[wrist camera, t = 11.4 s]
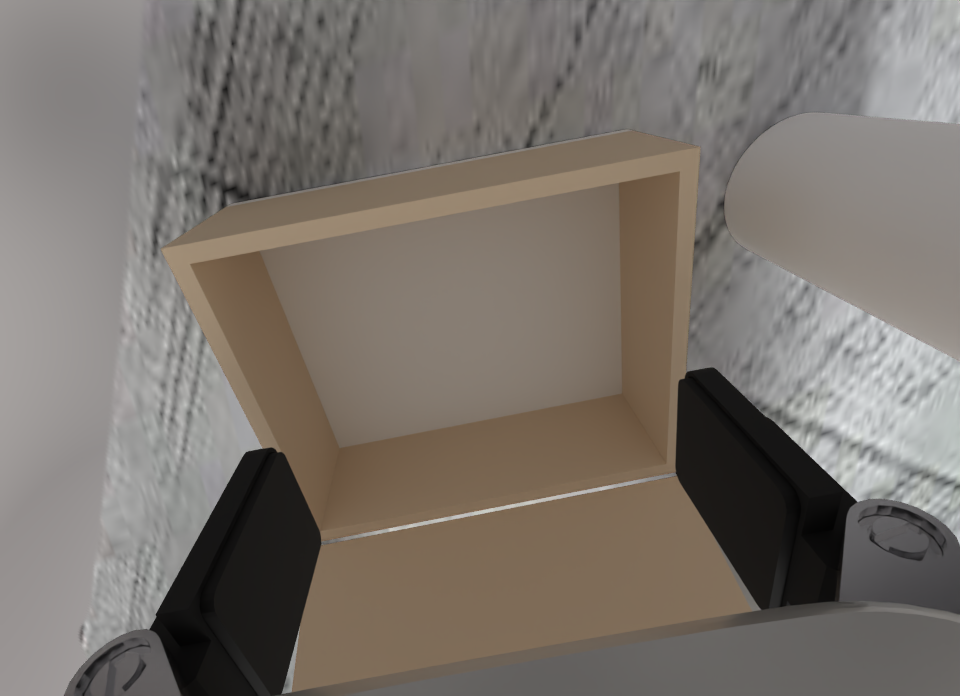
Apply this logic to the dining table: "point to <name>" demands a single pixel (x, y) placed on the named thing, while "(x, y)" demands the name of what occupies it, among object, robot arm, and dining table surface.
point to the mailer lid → (512, 583)
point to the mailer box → (458, 326)
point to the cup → (859, 214)
